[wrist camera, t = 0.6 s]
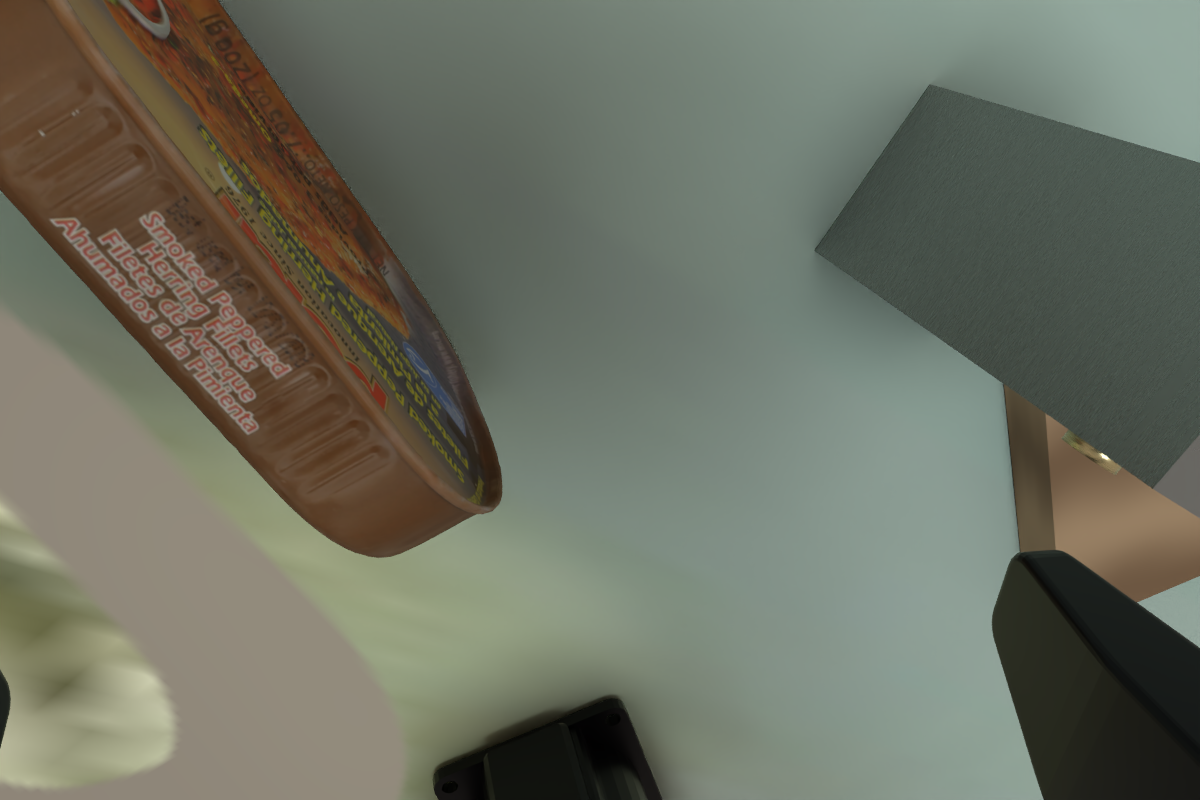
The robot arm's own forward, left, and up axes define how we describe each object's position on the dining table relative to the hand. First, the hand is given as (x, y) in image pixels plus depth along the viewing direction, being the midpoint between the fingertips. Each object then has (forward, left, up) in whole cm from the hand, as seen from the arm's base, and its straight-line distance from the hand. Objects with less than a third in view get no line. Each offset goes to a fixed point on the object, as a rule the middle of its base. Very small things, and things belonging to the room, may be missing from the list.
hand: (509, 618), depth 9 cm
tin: (+1, +3, -17) cm, 17 cm away
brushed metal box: (-6, -13, -16) cm, 22 cm away
